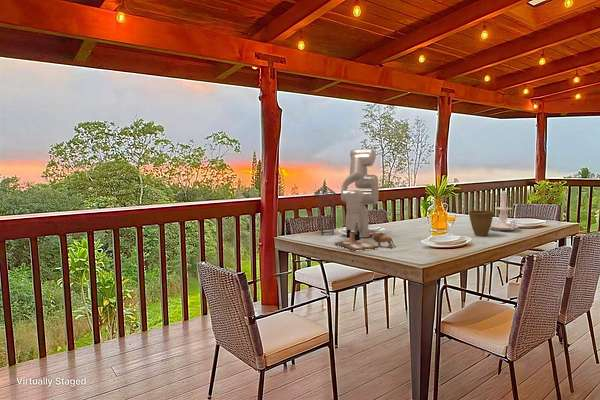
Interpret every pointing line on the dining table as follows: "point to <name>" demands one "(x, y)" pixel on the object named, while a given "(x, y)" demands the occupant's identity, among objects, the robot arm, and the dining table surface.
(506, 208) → the candlestick
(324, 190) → the geometric lantern
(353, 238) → the stub
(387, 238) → the lion figurine
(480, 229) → the plant pot
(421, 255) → the dining table surface
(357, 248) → the ticket board
